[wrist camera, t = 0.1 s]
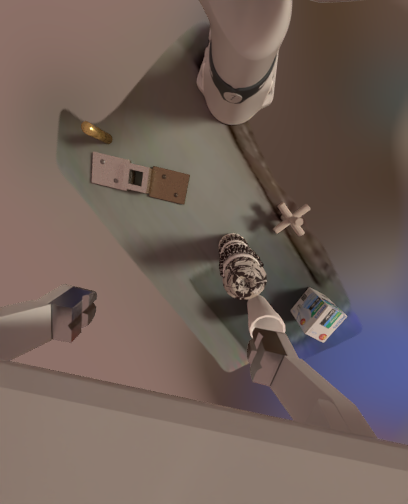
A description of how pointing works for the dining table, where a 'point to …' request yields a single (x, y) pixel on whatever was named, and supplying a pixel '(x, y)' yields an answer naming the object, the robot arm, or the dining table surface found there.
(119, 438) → the robot arm
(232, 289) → the decorative candle
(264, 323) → the foam cup
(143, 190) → the hinge
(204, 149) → the dining table surface
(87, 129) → the brass pin
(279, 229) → the pipe connector
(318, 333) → the light bulb box
